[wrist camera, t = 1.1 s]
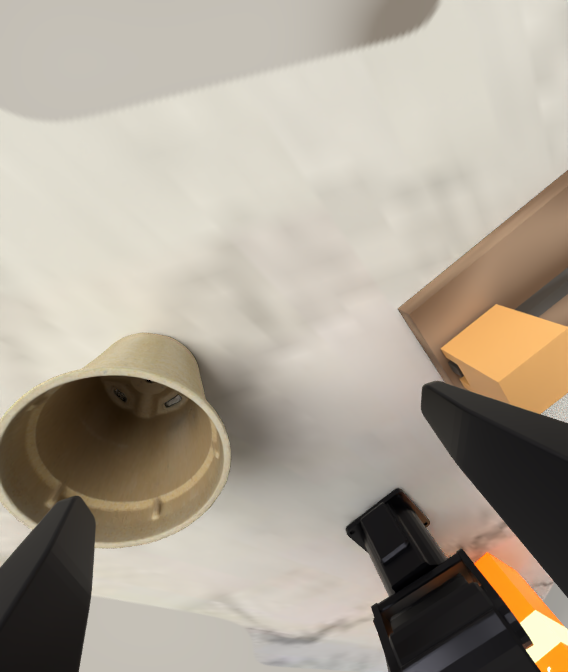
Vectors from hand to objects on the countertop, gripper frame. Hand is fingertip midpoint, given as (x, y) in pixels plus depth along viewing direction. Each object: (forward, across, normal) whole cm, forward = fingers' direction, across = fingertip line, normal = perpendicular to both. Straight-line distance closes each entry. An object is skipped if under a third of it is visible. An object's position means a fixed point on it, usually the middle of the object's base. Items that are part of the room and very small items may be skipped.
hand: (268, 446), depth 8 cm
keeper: (+11, -18, +8) cm, 22 cm away
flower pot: (+14, +6, +5) cm, 16 cm away
